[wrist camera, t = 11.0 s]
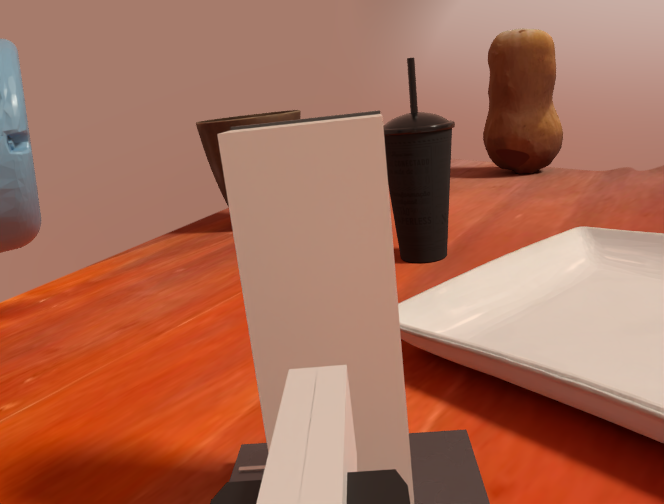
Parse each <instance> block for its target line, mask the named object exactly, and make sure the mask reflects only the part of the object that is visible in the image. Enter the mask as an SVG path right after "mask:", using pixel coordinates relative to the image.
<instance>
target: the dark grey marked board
mask: <svg viewBox="0 0 664 504" xmlns="http://www.w3.org/2000/svg"><path fill="white" fill-rule="evenodd" d="M409 444H410V456H411V468H412V480H413V492H414V504H490V503H489V500H488V497H487V493H486V490H485V487H484V484H483V481H482V478H481V475H480V471H479V468H478V465H477V462H476V459H475V456H474V453H473V449H472V446H471V443H470V440H469V437H468V434H467V431H466V430H454V431H439V432H424V433H409ZM268 454H269V453H268V447H267V443H259V444H244V445H241V448H240V451H239V454H238V457H237V460H236V463H235V466H234V469H233V472H232V475H231V478H230V481H229V482H236V481H251V480H262V478H263V474H264V470H265V466H266V462H267V458H268Z"/></svg>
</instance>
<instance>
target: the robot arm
mask: <svg viewBox="0 0 664 504" xmlns="http://www.w3.org/2000/svg"><path fill="white" fill-rule="evenodd" d="M40 226H41V213H40V206H39V199H38V192H37V185H36V178H35V171H34V163H33V156H32V149H31V142H30V135H29V128H28V121H27V115H26V107H25V99H24V93H23V86H22V78H21V71H20V64H19V58H18V51H17V48H16V46H15V45H14V44H13V43H12V42H10V41H8V40H6V39H0V253H1V252H5V251H9V250H13V249H18V248H21V247H23V246H25V245H27V244H28V243H30V242H31V241H32V240H33V239H34V238H35V237H36V236H37V234H38V232H39V230H40ZM210 504H410V498H409V490H408V485H407V484H406V482H405V481H404V480H403V478H402V477H401V476H400V474H399V473H398V472H397V471H396V469H389V470H374V471H360V472H357V452H356V443H355V434H354V426H353V417H352V408H351V399H350V390H349V381H348V372H347V365H337V366H324V367H312V368H299V369H289V371H288V376H287V380H286V384H285V388H284V392H283V396H282V400H281V404H280V408H279V413H278V417H277V421H276V425H275V429H274V433H273V437H272V441H271V445H270V450H269V454H268V458H267V462H266V466H265V470H264V474H263V478H262V480H251V481H236V482H227V483H226V484H225V485H224V486H223V487H222V489H221V490H220V491H219V492H218V493H217V494H216V495H215V497H214V498H213V499H212V500H211V503H210Z"/></svg>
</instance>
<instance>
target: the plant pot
mask: <svg viewBox="0 0 664 504" xmlns="http://www.w3.org/2000/svg"><path fill="white" fill-rule="evenodd" d="M299 119H300V110H293V111H281V112H271V113H263V114H254V115H245V116H237V117H229V118H222V119H214V120H207V121H201V122H197V123H196V125H197V129H198V132H199V135H200V138H201V141H202V144H203V148H204V150H205V153H206V156H207V159H208V162H209V164H210V167H211V170H212V172H213V174H214V177H215V179H216V182H217V184H218V186H219V188H220V191H221V193H222V195H223V197H224V199H225V201H226V203H227V205H228V207H229V204H228V198H227V192H226V186H225V179H224V173H223V167H222V161H221V155H220V148H219V142H218V136H217V134H220V133H223V132H227V131H230V130H231V128H230V127H235V126H244V125H253V124H263V123H272V122H281V121H290V120H299Z"/></svg>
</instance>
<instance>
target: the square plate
mask: <svg viewBox="0 0 664 504" xmlns="http://www.w3.org/2000/svg"><path fill="white" fill-rule="evenodd" d="M398 310H399V322H400V334H401V339H402V340H404V341H406V342H407V343H409V344H411V345H413V346H416V347H418V348H420V349H422V350H425V351H427V352H429V353H432V354H434V355H437V356H439V357H442V358H445V359H447V360H450V361H452V362H455V363H458V364H461V365H463V366H466V367H469V368H472V369H475V370H477V371H480V372H483V373H486V374H489V375H491V376H494V377H497V378H499V379H502V380H505V381H507V382H510V383H512V384H515V385H517V386H520V387H523V388H525V389H528V390H530V391H533V392H535V393H538V394H541V395H543V396H546V397H548V398H551V399H554V400H556V401H559V402H561V403H564V404H566V405H569V406H572V407H574V408H577V409H579V410H582V411H585V412H587V413H590V414H592V415H595V416H597V417H600V418H602V419H605V420H607V421H609V422H612V423H614V424H617V425H619V426H622V427H624V428H627V429H629V430H632V431H634V432H637V433H639V434H642V435H644V436H646V437H649V438H651V439H654V440H656V441H659V442H661V443H663V444H664V234H663V233H650V232H638V231H625V230H614V229H604V228H594V227H576V228H573V229H571V230H568V231H565V232H563V233H560V234H558V235H555V236H552V237H550V238H547V239H544V240H541V241H539V242H536V243H534V244H531V245H529V246H526V247H523V248H521V249H518V250H516V251H514V252H512V253H509V254H507V255H504V256H502V257H500V258H497V259H495V260H493V261H490V262H488V263H486V264H483V265H481V266H479V267H477V268H474V269H472V270H470V271H468V272H466V273H463V274H461V275H459V276H457V277H454V278H452V279H450V280H448V281H446V282H444V283H441V284H439V285H437V286H435V287H433V288H431V289H428V290H426V291H424V292H422V293H420V294H418V295H416V296H414V297H412V298H409V299H407V300H405V301H403V302H401V303H399V304H398Z"/></svg>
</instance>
